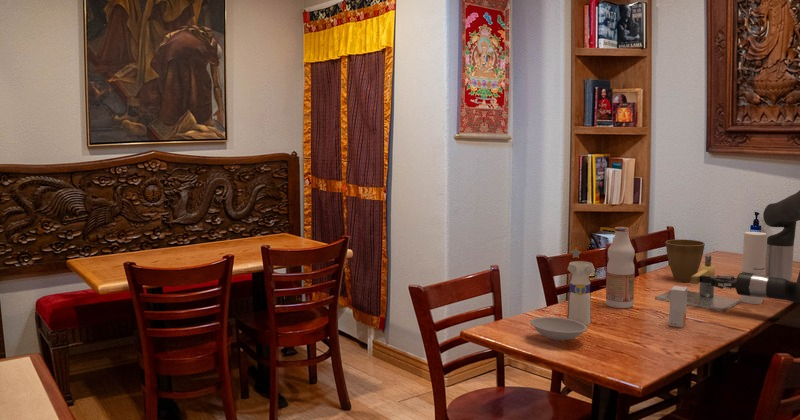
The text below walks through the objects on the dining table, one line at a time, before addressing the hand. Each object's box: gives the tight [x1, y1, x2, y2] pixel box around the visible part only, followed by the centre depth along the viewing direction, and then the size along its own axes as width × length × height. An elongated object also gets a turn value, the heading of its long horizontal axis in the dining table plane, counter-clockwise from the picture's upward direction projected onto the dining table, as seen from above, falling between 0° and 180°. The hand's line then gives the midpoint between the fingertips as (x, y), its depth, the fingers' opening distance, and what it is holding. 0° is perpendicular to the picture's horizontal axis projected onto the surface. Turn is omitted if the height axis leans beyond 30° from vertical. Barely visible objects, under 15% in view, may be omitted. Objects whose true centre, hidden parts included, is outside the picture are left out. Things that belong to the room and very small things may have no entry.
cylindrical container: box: [740, 231, 767, 305], centre depth 247 cm, size 7×7×25 cm
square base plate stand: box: [654, 254, 742, 312], centre depth 249 cm, size 17×24×16 cm
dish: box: [529, 316, 588, 342], centre depth 204 cm, size 18×14×5 cm
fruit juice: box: [605, 226, 636, 309], centre depth 243 cm, size 9×9×28 cm
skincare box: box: [668, 285, 688, 328], centre depth 219 cm, size 6×4×12 cm
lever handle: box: [690, 264, 716, 285], centre depth 246 cm, size 19×5×4 cm, turn 141°
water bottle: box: [566, 248, 596, 326], centre depth 223 cm, size 8×9×25 cm
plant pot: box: [665, 238, 706, 283], centre depth 282 cm, size 15×15×16 cm
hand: (700, 278), depth 241 cm, fingers closed
